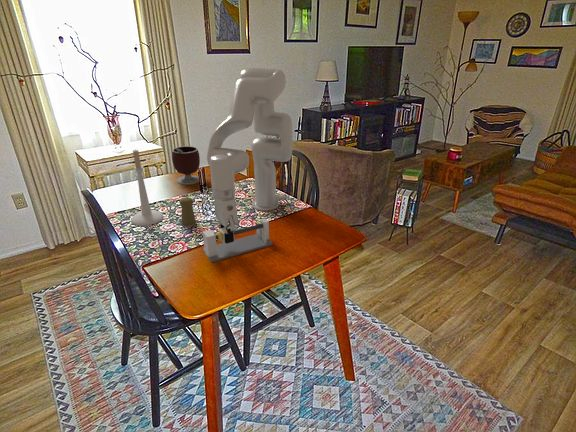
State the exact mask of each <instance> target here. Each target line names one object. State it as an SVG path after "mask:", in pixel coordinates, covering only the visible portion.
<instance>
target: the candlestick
mask: <svg viewBox="0 0 576 432" xmlns="http://www.w3.org/2000/svg"><path fill="white" fill-rule="evenodd" d="M132 153H133V154H132V155H133V160H134V164H135V166H134V167H133V169H135V172H136V175H137V185H138V190H139V191H138V192H139V199H140V201H139V202H140V207H141V208H140V209H141V211H140V212H137V213H136V214H134V215H133V216H132V217H131V219H130V222H131V224H132V225H135V226H138V227H139V226H141V227H145V226H147V225H148V226H153V225H156V224H158V223H160V222H162V221H163V219H164V214H163V213H162V212H160V211H159V210H155V209H151V206H150V201H149V197H148V193H147V189H146V185H145V180H144V176H143V171H144V170H143V168H144V166H143V165H142V164H141V159H140V153H139V150H138V149H134V150H132ZM152 224H153V225H152Z"/></svg>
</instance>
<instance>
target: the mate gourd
mask: <svg viewBox="0 0 576 432" xmlns="http://www.w3.org/2000/svg"><path fill="white" fill-rule="evenodd" d="M171 151H172V152H171V159H172V164H173V167H174V169H175V170H176V171H177V172H178V173H179V174H182V175H183V176H180V177H178V178H176V182H177V183H178V184H180V185H194V184H197V183H199V182H200V181H199V180H198V177H199V175H192V174H194V173H196V172H197V171H198V170H199V168H200V165H201V164H200V163H201V158H200V152H199V148H198V147H195V146H193V145H182V146H176V147H175V148H172V150H171Z"/></svg>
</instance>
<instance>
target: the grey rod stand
mask: <svg viewBox="0 0 576 432" xmlns="http://www.w3.org/2000/svg"><path fill="white" fill-rule="evenodd" d="M259 221H260V222H259V223H258V224H254V225H251V226H247V227H243V228H240V229H235V231H234V236H236V235H240V234H245V233H249V232H251V231H252V232H253V231H256V233H254V234H251V235H247V236H244V237H239V238H236V239H234V242H231V243H227V244H226V243H223V242H222V240H223V236H222V234H221V232H219V231H218V232H215V233H214V231H213V230H212V229H208V230H205V231H204V230H203V231H202V237H203V247H202V251H203V253H204V254H205V256H206V257H207V258H208V259H209V262H211V263H214V262H218V261H221V260H224V259H228V258H232V257H234V256H235V257H236V256H238V255H243V254H245V253H249V252H251V251H255V250H260V249H262V248H263V249H264V248H267V247H269V246H272V245H274V244H273V242H272V241H271V239H270V224H269V223H270V221H269V220H268V219H267V218H261V219H260V220H259ZM217 242H218V243H217ZM219 242H222V243H219Z"/></svg>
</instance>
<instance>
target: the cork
mask: <svg viewBox="0 0 576 432" xmlns="http://www.w3.org/2000/svg"><path fill="white" fill-rule="evenodd" d="M193 204H194V201H193V198H191V197H188V196H187V197H183V198H180V200H179V205H180V207H181V214H180V215H181V216H180V217H181V221H180V222H181V226H183V227H191V226H194V225H196V223H197V219H196V216H195V212H194V209H193Z"/></svg>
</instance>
